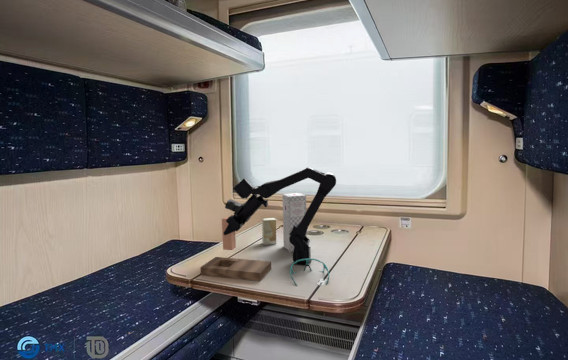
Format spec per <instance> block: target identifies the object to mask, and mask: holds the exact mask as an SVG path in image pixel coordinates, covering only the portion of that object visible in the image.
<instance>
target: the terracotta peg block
mask: <svg viewBox="0 0 568 360" xmlns="http://www.w3.org/2000/svg"><path fill="white" fill-rule="evenodd" d="M229 217H230V216H225V217H222V218H221V230H222V231H221V232H222V250H225V251H233V250H234V249H236V248H237V244H236V243H237V239H236V231H234V232H232V233H229V234H227V235H224V234H223V233H224V231H225V230H226V228H227V226H228V223H227V222H226V220H227V219H228V218H229Z"/></svg>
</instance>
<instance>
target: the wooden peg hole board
mask: <svg viewBox="0 0 568 360" xmlns="http://www.w3.org/2000/svg"><path fill="white" fill-rule="evenodd" d="M199 268H200V269H199V270H200V276H208V277H216V278H217V277H219V278H228V279H230V278H231V279H235V280H237V279H238V280H246V281H257V282H261V281H262V280H263V279H264V278H265V277H266V275H267V274H268V273H269V272H270V271H271V270H272V261H270V260H269V261H268V260H256V259H245V258H244V259H243V258H234V257H233V258H231V257H221V256H215V257H214V258H212V259H210V260H209V261H208V262H205V264H203V265H201V266H200V267H199Z"/></svg>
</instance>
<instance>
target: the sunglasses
mask: <svg viewBox="0 0 568 360" xmlns="http://www.w3.org/2000/svg"><path fill="white" fill-rule="evenodd" d="M302 260H306V265H304V268H303V269H302V271H303V272H304V271H306V268H307V267H308V269H309V270H310V271H313V270H312V268H311V266H310V264H307V261H308V260H312V261H315V262H318V263H321V264H322V265H323V270H322V271H318V272H321V273H324V272H325V271H327V275H328V277H327V280H326V283H325V286H327V285H328V282H329V279H330V271H329V268H328V267H327V265H326V263H324V262H323V261H322V260H320V259H316V258H311V259H310V258H307V259H300V260H297V261H296V262H294V261H293V262H294V263H293V262H292V264H291V265H290V268H289V274H290V279H291V280H292V281H293V284H294V285H295V286H296V287H298V284H297V283H296V281H295V280H294V278H293V276H292V275H293V274H296V273H297V271H296V272H295V271H294V269H293V268H294V267H293V266H294V265H296V264H295V263H297V262H299V261H302Z"/></svg>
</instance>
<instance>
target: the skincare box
mask: <svg viewBox="0 0 568 360" xmlns="http://www.w3.org/2000/svg"><path fill="white" fill-rule="evenodd" d="M261 220H262V221H261V227H262V229H261V230H262V231H261V232H262V235H261V236H262V237H261V238H262V241H261V242H262V244H263V245H265V246H266V245H267V246H268V245H269V246H270V245H276V244H277V219H276V218H275V217H268V218H267V217H266V218H262V219H261Z"/></svg>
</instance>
